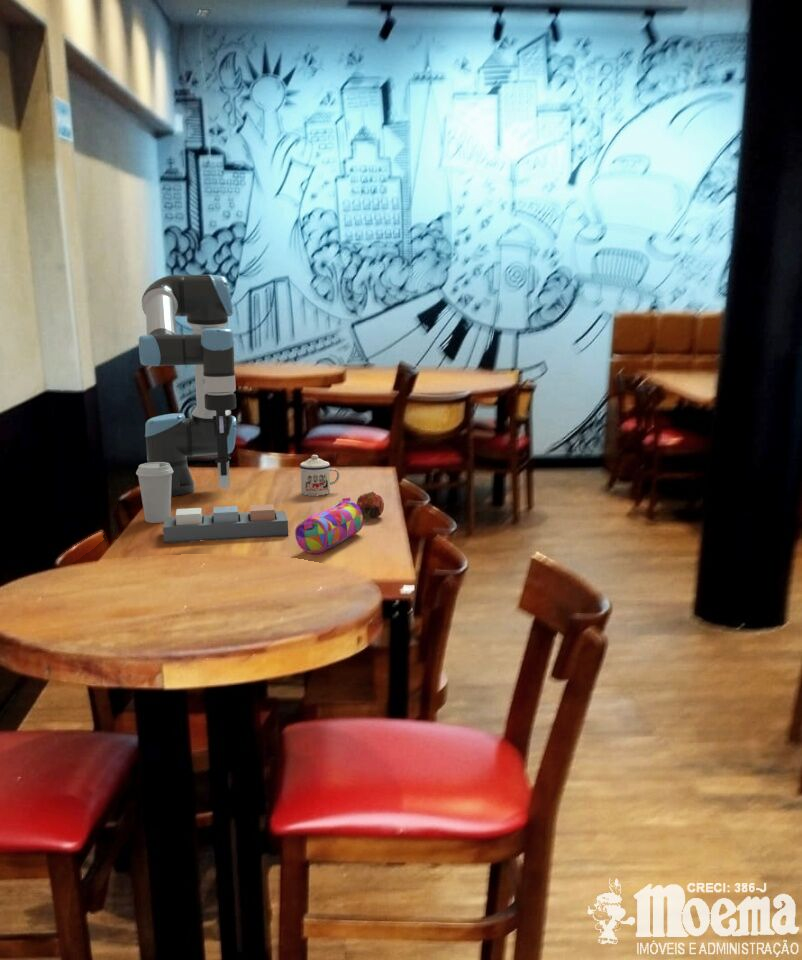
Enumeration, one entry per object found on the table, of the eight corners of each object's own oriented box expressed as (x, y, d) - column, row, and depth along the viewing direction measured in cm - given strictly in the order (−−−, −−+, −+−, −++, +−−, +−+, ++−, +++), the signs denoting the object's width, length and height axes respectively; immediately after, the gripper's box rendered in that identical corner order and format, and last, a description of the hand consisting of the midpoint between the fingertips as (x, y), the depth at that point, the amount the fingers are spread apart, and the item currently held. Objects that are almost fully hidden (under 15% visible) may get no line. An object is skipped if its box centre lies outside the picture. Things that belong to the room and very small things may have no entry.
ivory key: (177, 526, 216) (176, 509, 215) (202, 525, 217) (201, 507, 216) (176, 532, 210) (175, 515, 209) (201, 531, 211) (200, 513, 211)
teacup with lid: (303, 497, 254) (302, 459, 251) (298, 490, 262) (297, 453, 260) (342, 495, 257) (342, 456, 254) (336, 488, 266) (336, 451, 263)
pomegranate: (382, 529, 228) (392, 500, 234) (373, 512, 223) (383, 482, 229) (357, 529, 231) (367, 500, 237) (348, 512, 226) (358, 483, 232)
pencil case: (331, 530, 220) (331, 495, 218) (365, 533, 217) (365, 498, 215) (292, 554, 200) (291, 516, 198) (329, 558, 197) (328, 520, 195)
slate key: (214, 524, 218) (213, 507, 217) (238, 523, 219) (237, 505, 218) (214, 530, 212) (213, 513, 211) (238, 529, 213) (238, 511, 212)
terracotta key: (250, 522, 220) (249, 505, 219) (274, 521, 221) (273, 504, 220) (251, 528, 214) (250, 511, 213) (275, 527, 215) (274, 509, 214)
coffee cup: (166, 525, 224) (162, 469, 221) (132, 523, 226) (128, 467, 223) (182, 516, 233) (179, 462, 230) (150, 514, 235) (146, 460, 232)
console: (166, 532, 218) (165, 517, 217) (285, 525, 224) (284, 510, 223) (164, 543, 208) (163, 527, 207) (288, 536, 214) (287, 520, 213)
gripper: (204, 389, 214) (209, 481, 219) (203, 396, 201) (208, 494, 207) (235, 389, 215) (239, 480, 221) (236, 396, 203) (240, 492, 208)
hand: (224, 487), depth 214 cm, fingers closed
